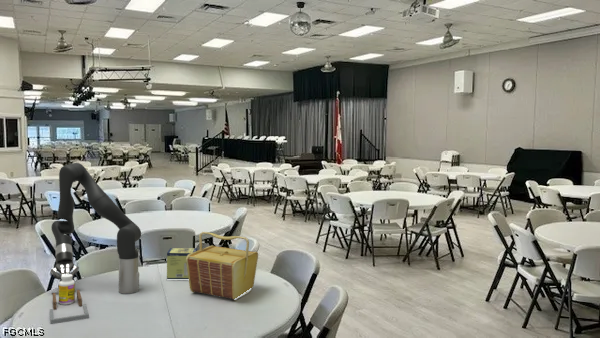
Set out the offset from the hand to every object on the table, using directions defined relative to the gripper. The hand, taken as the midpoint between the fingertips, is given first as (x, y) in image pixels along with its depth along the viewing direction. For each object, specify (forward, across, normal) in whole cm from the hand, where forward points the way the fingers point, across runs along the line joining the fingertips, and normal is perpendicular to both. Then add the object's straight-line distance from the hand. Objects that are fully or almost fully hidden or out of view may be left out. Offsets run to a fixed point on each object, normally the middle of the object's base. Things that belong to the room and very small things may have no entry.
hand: (65, 286), depth 220 cm
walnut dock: (+11, 0, -4) cm, 11 cm away
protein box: (-1, +58, +8) cm, 59 cm away
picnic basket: (+21, +70, -14) cm, 75 cm away
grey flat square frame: (+22, 0, -14) cm, 26 cm away
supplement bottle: (+10, 0, -3) cm, 10 cm away
